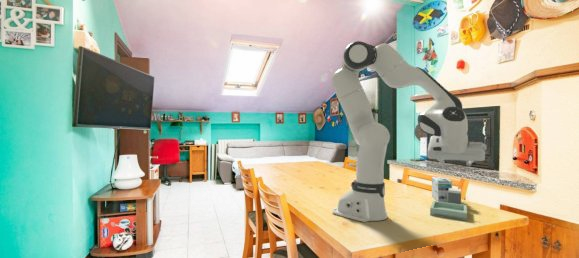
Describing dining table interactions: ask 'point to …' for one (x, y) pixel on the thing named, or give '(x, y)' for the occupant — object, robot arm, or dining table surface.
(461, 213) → the tray
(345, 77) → the robot arm
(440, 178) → the light bulb box
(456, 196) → the gray rectangular block
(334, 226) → the dining table surface
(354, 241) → the dining table surface
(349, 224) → the dining table surface
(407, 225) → the dining table surface
